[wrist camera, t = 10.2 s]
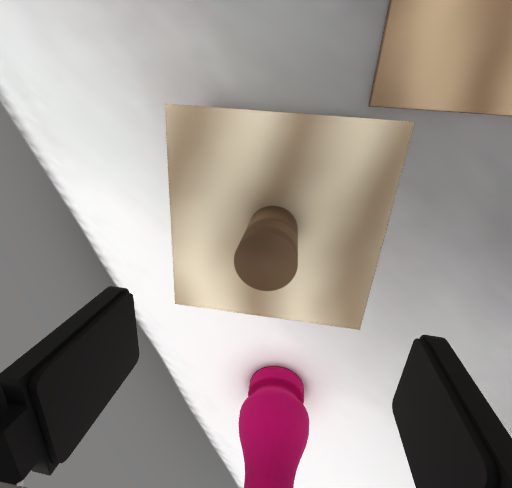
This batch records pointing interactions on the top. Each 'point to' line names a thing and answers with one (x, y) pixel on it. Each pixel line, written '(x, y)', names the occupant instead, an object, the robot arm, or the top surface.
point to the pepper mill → (273, 428)
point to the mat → (446, 57)
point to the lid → (280, 209)
